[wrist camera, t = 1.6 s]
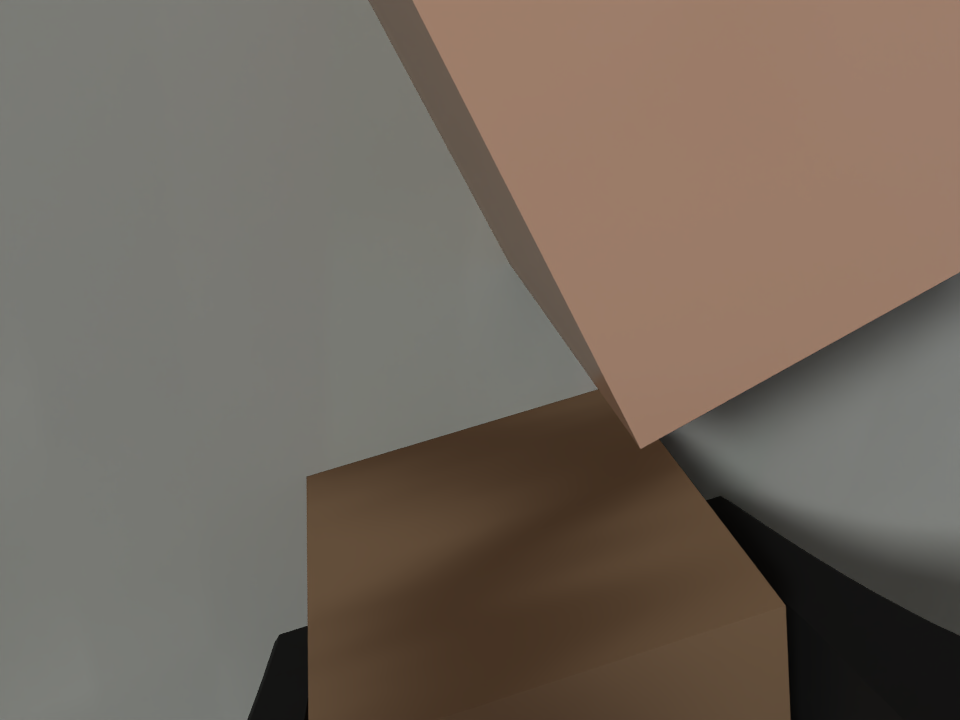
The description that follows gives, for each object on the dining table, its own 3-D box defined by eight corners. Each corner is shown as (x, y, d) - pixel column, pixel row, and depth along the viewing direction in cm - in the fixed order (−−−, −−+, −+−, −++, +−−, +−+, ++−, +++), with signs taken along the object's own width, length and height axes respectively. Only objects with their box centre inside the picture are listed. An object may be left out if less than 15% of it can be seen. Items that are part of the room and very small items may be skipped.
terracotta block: (706, -339, 9) (1130, -665, 4) (820, 82, 11) (1167, 157, 7) (313, -102, 9) (324, -174, 4) (508, 261, 11) (640, 449, 7)
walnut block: (614, 381, 12) (785, 604, 8) (649, 606, 15) (796, 875, 10) (306, 473, 12) (309, 761, 8) (393, 689, 14) (432, 1004, 10)
